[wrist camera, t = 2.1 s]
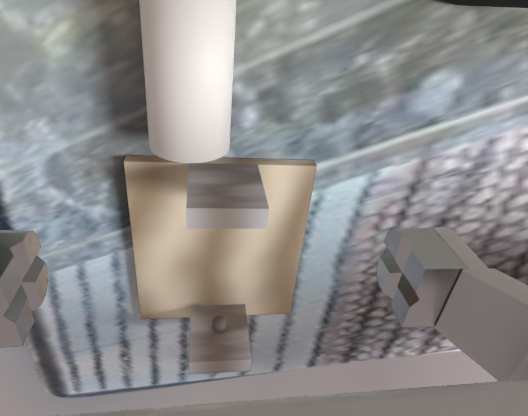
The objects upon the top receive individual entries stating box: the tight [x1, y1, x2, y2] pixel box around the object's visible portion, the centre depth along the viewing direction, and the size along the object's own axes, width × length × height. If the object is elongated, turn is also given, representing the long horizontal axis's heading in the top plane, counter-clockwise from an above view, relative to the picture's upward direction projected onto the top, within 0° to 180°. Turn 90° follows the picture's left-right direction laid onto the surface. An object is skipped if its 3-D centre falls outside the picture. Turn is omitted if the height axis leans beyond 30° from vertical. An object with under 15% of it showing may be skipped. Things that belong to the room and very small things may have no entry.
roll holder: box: [124, 155, 317, 374], centre depth 31 cm, size 14×16×7 cm
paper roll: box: [139, 0, 236, 163], centre depth 24 cm, size 11×5×5 cm, turn 175°
